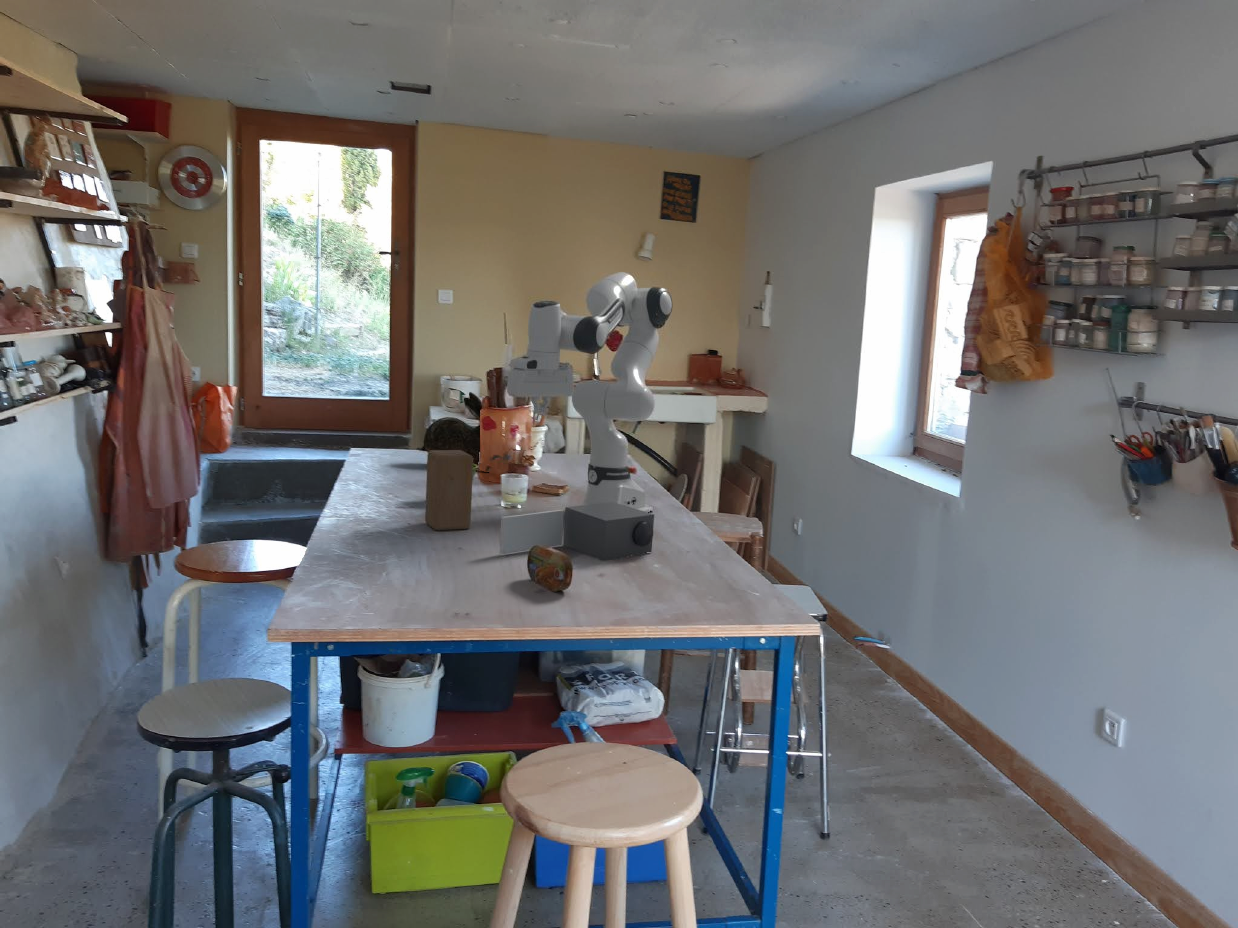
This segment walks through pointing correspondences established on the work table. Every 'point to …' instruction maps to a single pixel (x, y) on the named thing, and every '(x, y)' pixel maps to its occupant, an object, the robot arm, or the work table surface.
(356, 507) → the work table surface
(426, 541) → the work table surface
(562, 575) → the tin
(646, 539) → the cabinet body
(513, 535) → the door
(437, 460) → the wooden block
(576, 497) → the work table surface
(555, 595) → the work table surface
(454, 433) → the sculpture
